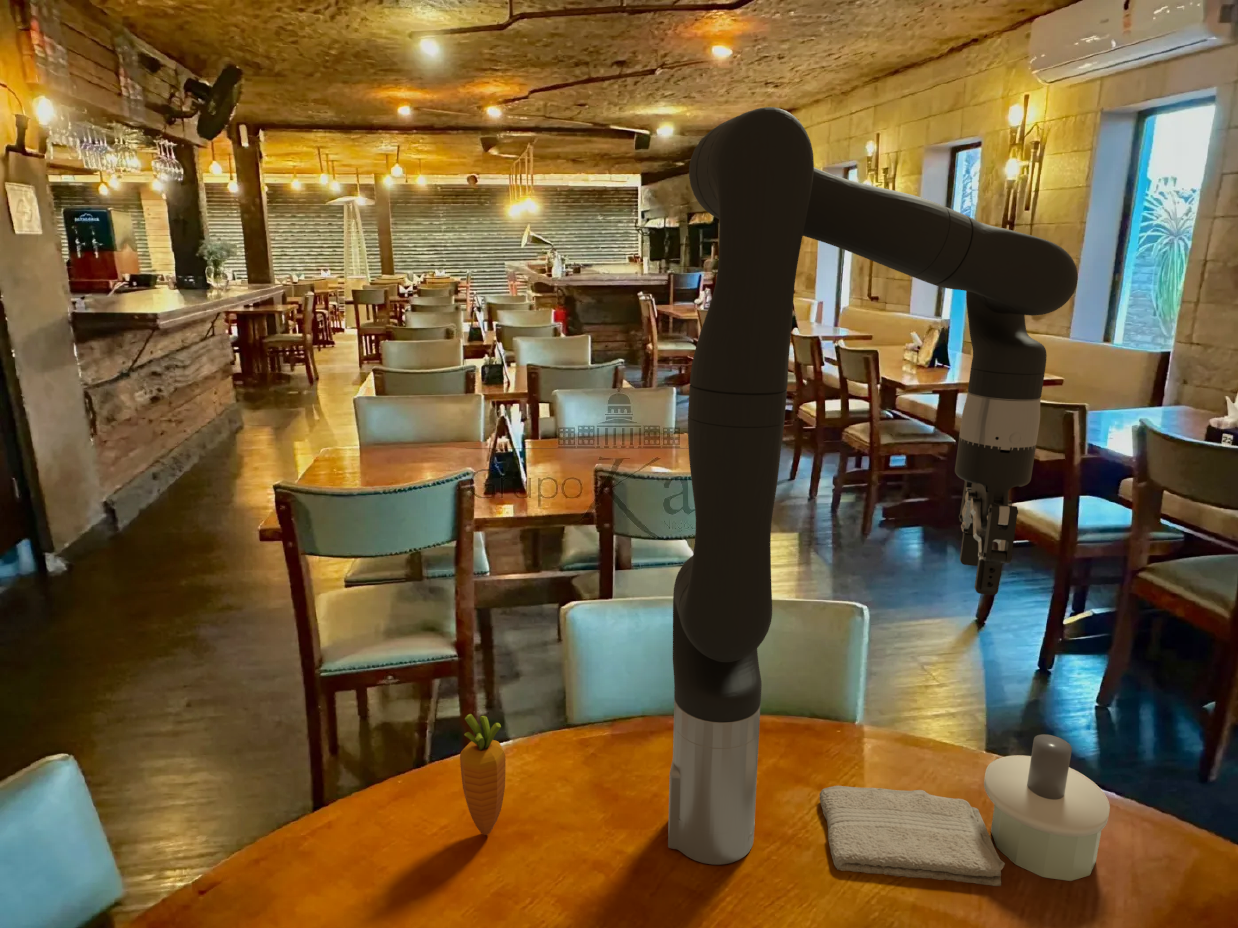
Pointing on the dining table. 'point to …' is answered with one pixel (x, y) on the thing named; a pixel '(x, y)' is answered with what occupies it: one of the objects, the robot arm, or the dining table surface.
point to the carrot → (483, 774)
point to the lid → (1047, 790)
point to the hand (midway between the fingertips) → (977, 578)
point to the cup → (1044, 849)
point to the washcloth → (909, 835)
